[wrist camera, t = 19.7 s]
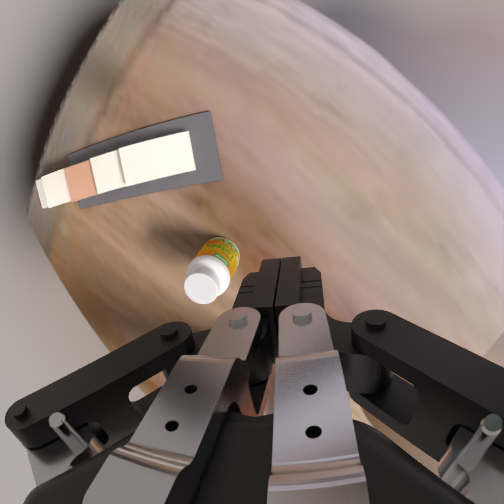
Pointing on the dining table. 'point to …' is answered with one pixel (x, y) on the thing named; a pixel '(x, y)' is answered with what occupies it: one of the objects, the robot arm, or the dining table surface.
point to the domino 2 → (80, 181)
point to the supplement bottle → (211, 270)
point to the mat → (204, 173)
